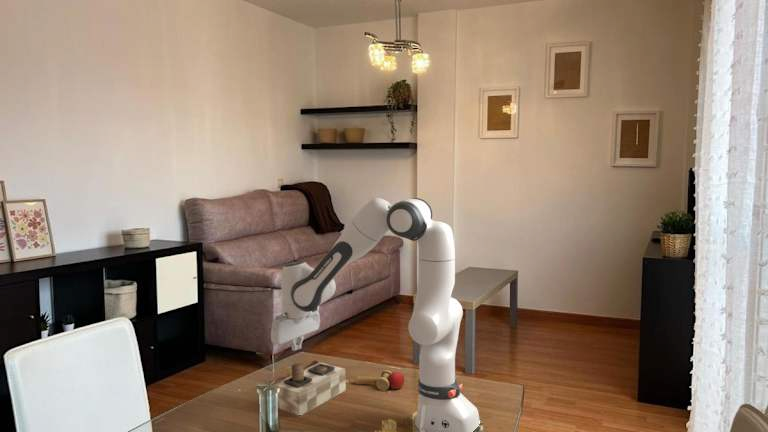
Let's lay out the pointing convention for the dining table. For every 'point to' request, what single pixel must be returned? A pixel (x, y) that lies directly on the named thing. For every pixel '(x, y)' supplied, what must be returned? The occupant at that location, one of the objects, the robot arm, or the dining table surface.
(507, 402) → the dining table surface
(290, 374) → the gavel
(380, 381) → the kendama
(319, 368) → the peg right
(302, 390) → the collar block
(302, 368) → the peg left
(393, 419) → the dining table surface
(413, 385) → the dining table surface
